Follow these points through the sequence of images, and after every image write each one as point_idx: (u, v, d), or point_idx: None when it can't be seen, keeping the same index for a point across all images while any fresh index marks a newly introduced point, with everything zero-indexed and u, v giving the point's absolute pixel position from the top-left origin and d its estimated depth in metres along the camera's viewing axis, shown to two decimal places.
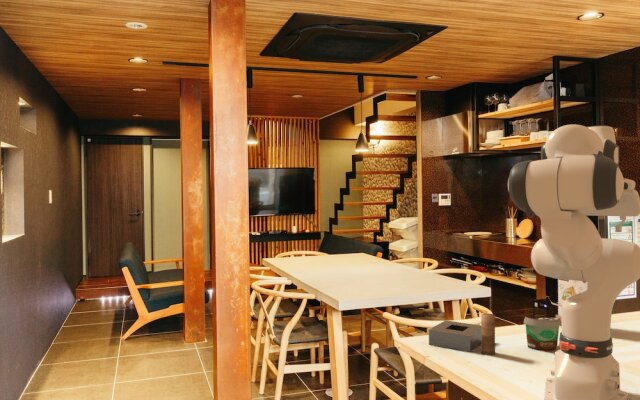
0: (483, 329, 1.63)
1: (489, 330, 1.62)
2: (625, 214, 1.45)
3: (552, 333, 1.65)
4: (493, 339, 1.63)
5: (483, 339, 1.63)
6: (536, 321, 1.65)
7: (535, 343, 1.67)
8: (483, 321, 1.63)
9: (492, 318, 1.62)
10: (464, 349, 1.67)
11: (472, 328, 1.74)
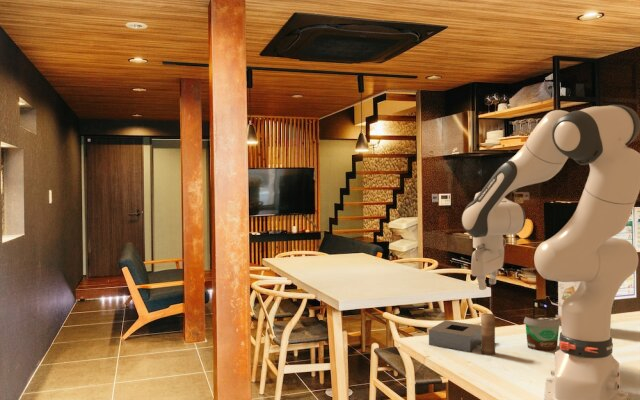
0: (483, 329, 1.63)
1: (489, 330, 1.62)
2: (500, 267, 1.68)
3: (552, 333, 1.65)
4: (493, 339, 1.63)
5: (483, 339, 1.63)
6: (536, 321, 1.65)
7: (535, 343, 1.67)
8: (483, 321, 1.63)
9: (492, 318, 1.62)
10: (464, 349, 1.67)
11: (472, 328, 1.74)
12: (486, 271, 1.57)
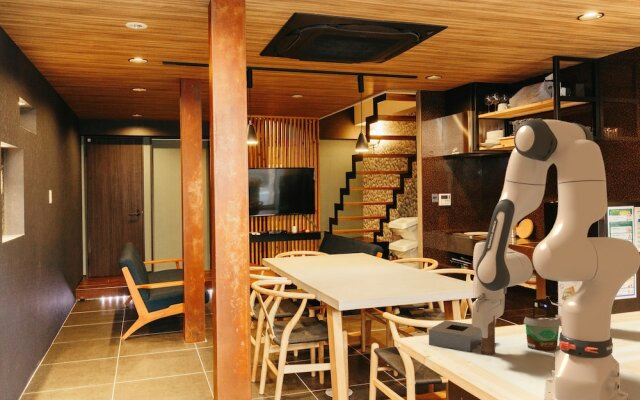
0: None
1: (489, 330, 1.62)
2: (500, 314, 1.68)
3: (552, 333, 1.65)
4: (493, 339, 1.63)
5: (483, 339, 1.63)
6: (536, 321, 1.65)
7: (535, 343, 1.67)
8: None
9: None
10: (464, 349, 1.67)
11: (472, 328, 1.74)
12: (487, 321, 1.58)
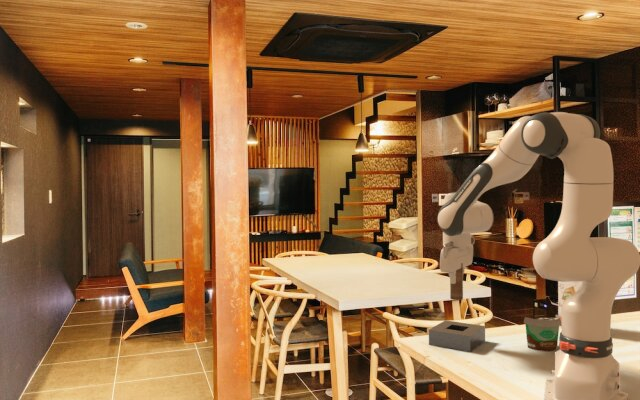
0: None
1: (457, 277, 1.73)
2: (469, 264, 1.79)
3: (552, 333, 1.65)
4: (461, 285, 1.73)
5: (451, 285, 1.74)
6: (536, 321, 1.65)
7: (535, 343, 1.67)
8: None
9: None
10: (464, 349, 1.67)
11: (472, 328, 1.74)
12: (454, 267, 1.68)
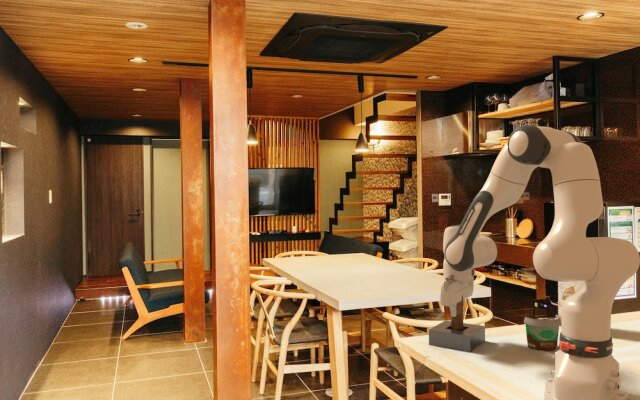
0: None
1: (457, 309, 1.73)
2: (469, 295, 1.79)
3: (552, 333, 1.65)
4: (461, 317, 1.74)
5: (452, 318, 1.74)
6: (536, 321, 1.65)
7: (535, 343, 1.67)
8: None
9: None
10: (464, 349, 1.67)
11: (472, 328, 1.74)
12: (454, 301, 1.69)
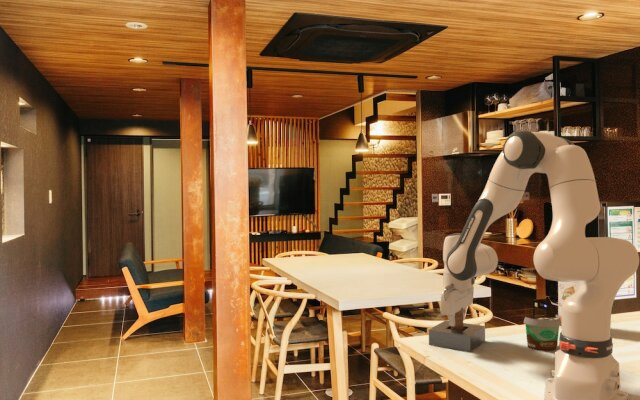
0: None
1: (457, 321, 1.73)
2: (469, 304, 1.79)
3: (552, 333, 1.65)
4: (461, 329, 1.74)
5: (452, 329, 1.74)
6: (536, 321, 1.65)
7: (535, 343, 1.67)
8: None
9: (460, 310, 1.73)
10: (464, 349, 1.67)
11: (472, 328, 1.74)
12: (454, 310, 1.69)
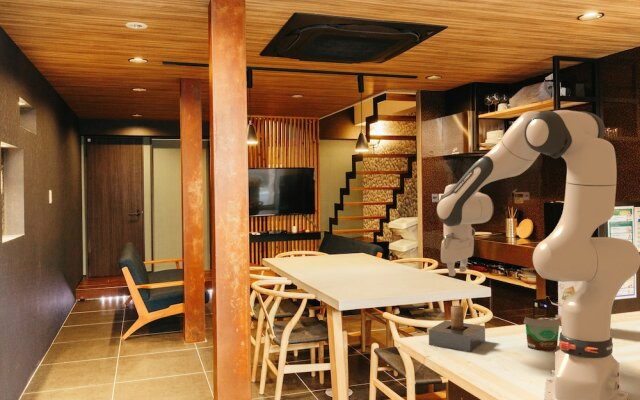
0: (452, 320, 1.74)
1: (458, 321, 1.73)
2: (469, 255, 1.79)
3: (552, 333, 1.65)
4: (461, 329, 1.74)
5: (452, 329, 1.74)
6: (536, 321, 1.65)
7: (535, 343, 1.67)
8: (452, 313, 1.74)
9: (460, 310, 1.73)
10: (464, 349, 1.67)
11: (472, 328, 1.74)
12: (455, 258, 1.68)
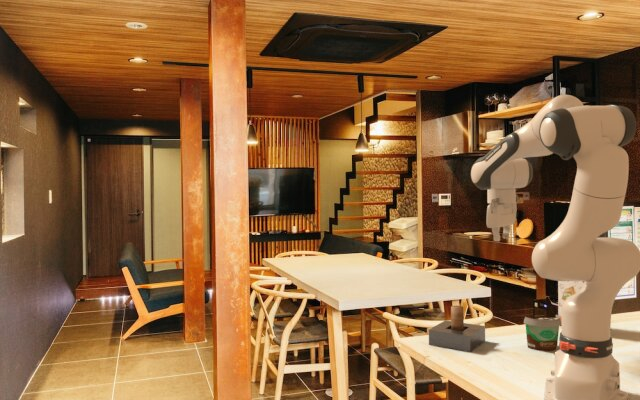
0: (452, 320, 1.74)
1: (458, 321, 1.73)
2: (512, 222, 1.79)
3: (552, 333, 1.65)
4: (461, 329, 1.74)
5: (452, 329, 1.74)
6: (536, 321, 1.65)
7: (535, 343, 1.67)
8: (452, 313, 1.74)
9: (461, 310, 1.73)
10: (464, 349, 1.67)
11: (472, 328, 1.74)
12: (500, 223, 1.68)
